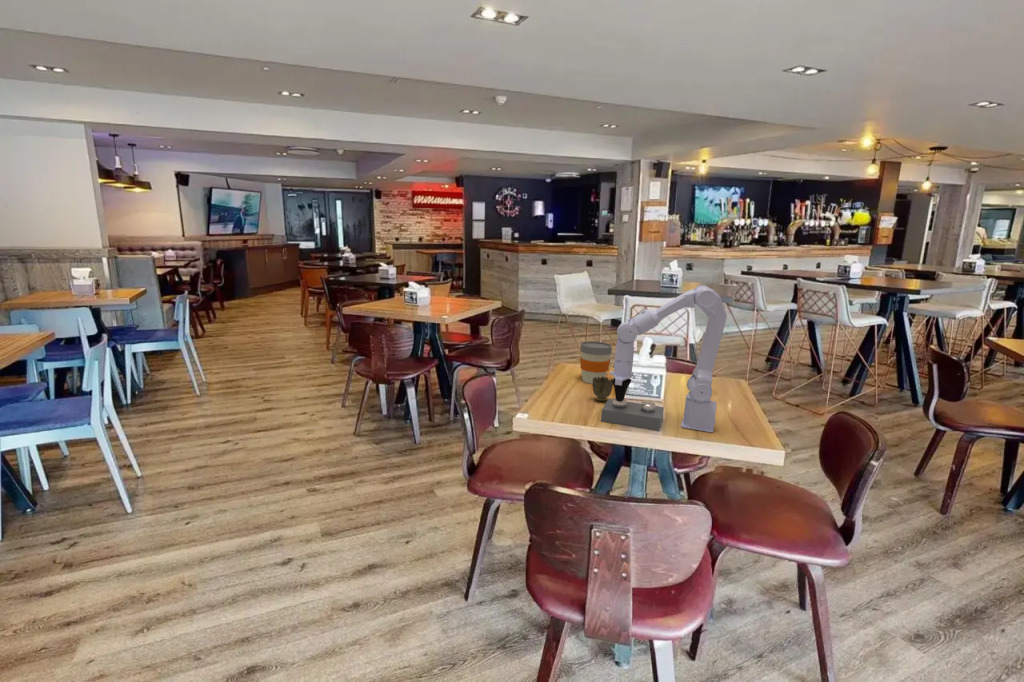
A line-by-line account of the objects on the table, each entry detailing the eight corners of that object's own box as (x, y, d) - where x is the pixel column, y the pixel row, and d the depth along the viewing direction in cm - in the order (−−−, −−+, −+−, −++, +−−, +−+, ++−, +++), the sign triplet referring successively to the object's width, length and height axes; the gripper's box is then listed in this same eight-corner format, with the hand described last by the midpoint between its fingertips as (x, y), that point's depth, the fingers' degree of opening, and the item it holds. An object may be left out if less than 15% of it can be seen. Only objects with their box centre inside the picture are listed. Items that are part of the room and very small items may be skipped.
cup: (586, 399, 186) (588, 378, 184) (600, 396, 191) (601, 375, 189) (602, 405, 180) (604, 383, 179) (616, 401, 185) (618, 380, 184)
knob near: (654, 416, 167) (656, 402, 166) (653, 420, 163) (654, 406, 162) (640, 414, 168) (642, 400, 167) (639, 418, 164) (640, 404, 163)
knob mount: (662, 418, 170) (663, 407, 169) (659, 431, 159) (660, 418, 158) (607, 409, 176) (608, 398, 175) (600, 421, 165) (601, 409, 164)
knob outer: (626, 412, 170) (627, 399, 169) (624, 416, 166) (625, 403, 165) (613, 410, 171) (614, 397, 170) (610, 414, 167) (611, 401, 166)
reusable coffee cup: (611, 385, 204) (615, 348, 201) (580, 384, 204) (583, 347, 201) (605, 377, 217) (608, 342, 214) (575, 375, 216) (578, 340, 213)
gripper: (615, 354, 173) (611, 393, 176) (607, 363, 160) (603, 405, 162) (636, 356, 171) (632, 396, 173) (630, 366, 157) (625, 409, 160)
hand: (619, 401), depth 168 cm, fingers closed, pressing on knob outer
